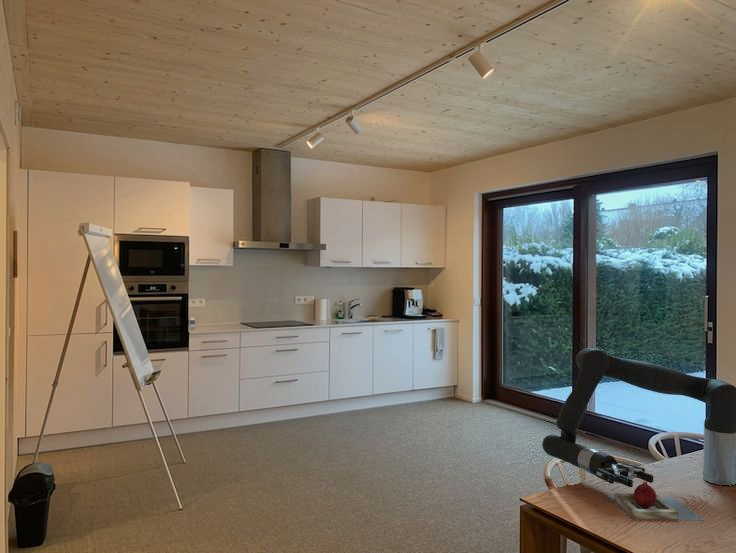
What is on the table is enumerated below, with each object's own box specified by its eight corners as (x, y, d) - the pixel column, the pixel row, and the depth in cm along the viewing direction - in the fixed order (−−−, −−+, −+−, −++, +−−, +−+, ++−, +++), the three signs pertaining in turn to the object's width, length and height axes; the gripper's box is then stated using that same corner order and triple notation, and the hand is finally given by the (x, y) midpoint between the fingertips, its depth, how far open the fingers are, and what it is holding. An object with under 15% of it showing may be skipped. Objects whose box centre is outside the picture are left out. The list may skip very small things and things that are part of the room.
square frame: (654, 500, 161) (655, 493, 161) (678, 519, 149) (678, 511, 149) (614, 499, 161) (614, 493, 161) (634, 518, 149) (634, 511, 149)
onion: (658, 514, 152) (659, 486, 152) (636, 512, 153) (637, 484, 153) (652, 505, 157) (653, 478, 157) (631, 503, 159) (631, 476, 158)
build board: (673, 502, 164) (673, 497, 164) (704, 525, 149) (704, 520, 149) (607, 501, 164) (607, 496, 164) (631, 524, 149) (631, 519, 149)
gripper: (580, 454, 167) (625, 472, 153) (613, 448, 174) (659, 465, 159) (579, 478, 168) (624, 498, 153) (612, 471, 174) (658, 490, 159)
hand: (642, 481), depth 156 cm, fingers open, 8 cm apart
